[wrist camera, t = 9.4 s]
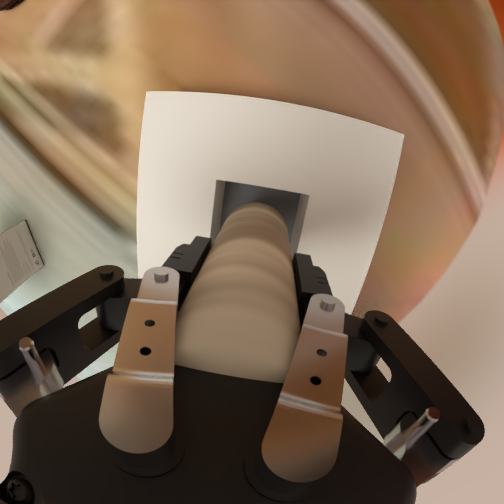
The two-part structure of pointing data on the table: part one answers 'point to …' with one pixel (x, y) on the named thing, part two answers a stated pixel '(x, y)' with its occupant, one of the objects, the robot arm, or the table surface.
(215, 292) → the peg
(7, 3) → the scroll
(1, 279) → the skincare box
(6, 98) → the table surface
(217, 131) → the socket block
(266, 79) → the table surface
